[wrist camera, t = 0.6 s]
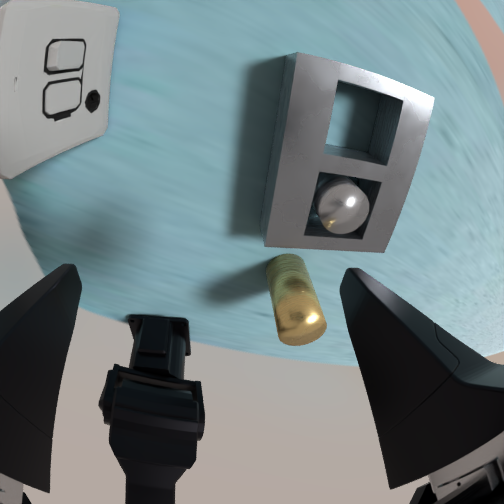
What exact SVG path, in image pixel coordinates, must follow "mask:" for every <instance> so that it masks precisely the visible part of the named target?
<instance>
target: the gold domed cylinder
mask: <svg viewBox="0 0 504 504" xmlns="http://www.w3.org/2000/svg"><path fill="white" fill-rule="evenodd" d="M266 276H267V281H268V286H269V291H270V296H271V301H272V306H273V311H274V317H275V322H276V327H277V332H278V337H279V339H280V341H281V342H283V343H284V344H287V345H291V346H300V345H305V344H308V343H311V342H313V341H315V340H317V339H318V338H320V337H321V336H322V335H323V334H324V332H325V330H326V327H327V324H326V321H325V318H324V315H323V312H322V309H321V307H320V304H319V301H318V298H317V295H316V293H315V290H314V287H313V284H312V282H311V279H310V276H309V274H308V271H307V268H306V265H305V263H304V261H303V259H302V258H301V257H299V256H297V255H294V254H283V255H279V256H277V257H275V258H274V259H272V260H271V261H270V262H269V264H268V265H267V268H266Z"/></svg>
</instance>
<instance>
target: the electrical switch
mask: <svg viewBox="0 0 504 504" xmlns="http://www.w3.org/2000/svg"><path fill="white" fill-rule="evenodd" d="M119 17H120V13H119V12H118V10H117V8H115V7H110V6H105V5H100V4H95V3H89V2H82V1H75V0H11V1H9V2H8V3H6V4H5V5H3V6H2V7H0V179H12V178H14V177H15V176H17V175H19V174H21V173H23V172H24V171H26V170H28V169H30V168H32V167H34V166H36V165H37V164H39V163H41V162H43V161H45V160H47V159H49V158H51V157H54V156H56V155H58V154H60V153H62V152H64V151H66V150H69V149H71V148H73V147H75V146H78V145H80V144H82V143H85V142H87V141H90V140H92V139H95V138H97V137H100V136H102V135H103V134H104V133H105V131H106V129H107V127H108V109H109V93H110V80H111V70H112V61H113V53H114V46H115V39H116V33H117V28H118V22H119Z"/></svg>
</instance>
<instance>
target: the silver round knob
mask: <svg viewBox="0 0 504 504" xmlns="http://www.w3.org/2000/svg"><path fill="white" fill-rule="evenodd" d="M311 205H312V206H313V208H314V210H315V211H316V213H317V215H318V217H319V218H320V220H321V222H322V223H323V225H324V227H325V228H326V229H327V230H329V231H330V232H332V233H336V234H345V233H349V232H352V231H354V230H355V229H357V228H358V227H359V226H360V225H361V224H362V223H363V222H364V221H365V219H366V217H367V215H368V212H369V201H368V198H367V196H366V195H365V194H364V193H363V192H362V191H361V189H360V188H359V187H358V186H357V185H356V184H355V183H354V182H353V181H352V180H351V179H350V178H349V177H348V176H346V175H340V174H333V173H326V172H319V174H318V179H317V183H316V187H315V191H314V196H313V200H312V204H311Z"/></svg>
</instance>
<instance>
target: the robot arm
mask: <svg viewBox="0 0 504 504" xmlns="http://www.w3.org/2000/svg"><path fill="white" fill-rule="evenodd" d="M81 291H82V283H81V280H80V277H79V274H78V271H77V268H76V266H75V265H74V264H62V265H61V266H60V267H58V268H57V269H55V270H54V271H52V272H51V273H50V274H48V275H47V276H45V277H44V278H43V279H41V280H40V281H39V282H37V283H36V284H34V285H33V286H32V287H31V288H29V289H28V290H27V291H25V292H24V293H23V294H21V295H20V296H19V297H17V298H16V299H15V300H14V301H12V302H11V303H10V304H8V305H7V306H6V307H5V308H4V309H2V310H1V311H0V504H31V502H30V500H29V499H28V497H27V496H26V494H25V493H24V492H23V484H26V485H28V486H31V487H33V488H36V489H38V490H41V491H44V492H47V493H50V468H51V451H52V438H53V429H54V421H55V414H56V407H57V401H58V395H59V390H60V384H61V380H62V375H63V370H64V366H65V361H66V357H67V352H68V349H69V345H70V341H71V337H72V334H73V330H74V325H75V320H76V315H77V310H78V305H79V300H80V296H81ZM340 296H341V300H342V305H343V309H344V314H345V319H346V324H347V328H348V332H349V335H350V338H351V342H352V345H353V348H354V351H355V354H356V357H357V361H358V364H359V367H360V371H361V374H362V377H363V381H364V384H365V388H366V391H367V395H368V399H369V402H370V406H371V410H372V414H373V417H374V421H375V425H376V429H377V433H378V437H379V442H380V447H381V451H382V455H383V460H384V464H385V469H386V473H387V479H388V484H389V488H390V489H394V488H397V487H400V486H402V485H405V484H407V483H410V482H412V481H415V480H417V479H420V478H422V477H424V476H427V475H428V477H429V480H430V482H428V483H426V484H424V485H422V486H421V487H419V488H417V489H416V491H415V493H414V495H413V497H412V500H411V501H410V504H504V365H500V364H496V363H493V362H491V361H489V360H487V359H486V358H484V357H483V356H481V355H480V354H479V353H477V352H476V351H474V350H473V349H471V348H470V347H468V346H467V345H465V344H464V343H462V342H461V341H459V340H458V339H457V338H455V337H454V336H452V335H451V334H450V333H448V332H447V331H445V330H444V329H443V328H441V327H440V326H439V325H438V324H436V323H434V322H433V321H432V320H431V319H430V318H428V317H427V316H425V315H424V314H423V313H421V312H420V311H419V310H417V309H416V308H415V307H413V306H412V305H411V304H409V303H408V302H406V301H405V300H404V299H402V298H401V297H399V296H398V295H397V294H395V293H394V292H392V291H391V290H390V289H388V288H387V287H385V286H384V285H383V284H381V283H380V282H378V281H377V280H375V279H374V278H373V277H371V276H370V275H368V274H367V273H365V272H364V271H363V270H361V269H359V268H348V269H347V270H346V272H345V274H344V277H343V280H342V283H341V285H340ZM128 322H129V326H130V329H131V332H132V335H133V339H134V344H133V349H132V354H131V359H130V364H129V368H126V367H122V366H119V365H118V364H114V367H113V370H109V371H108V374H107V378H106V383H105V386H104V389H103V391H102V394H101V397H100V400H99V407H100V409H101V410H102V412H103V416H104V424H107V425H110V431H109V444H110V446H111V448H112V451H113V453H114V455H115V457H116V458H117V460H118V462H119V464H120V466H121V468H122V469H123V471H124V473H125V475H126V500H125V501H126V502H125V503H126V504H175V483H176V482H177V480H178V479H179V478H180V477H181V476H182V474H183V473H184V472H185V471H186V469H190V468H191V467H192V465H193V464H194V462H195V461H196V451H197V441H200V440H201V438H202V436H203V433H204V426H205V411H204V404H203V396H202V388H201V382H200V381H190V380H184V365H185V356H189V355H191V347H190V333H189V321H188V320H187V319H181V318H164V317H149V316H136V315H130V316H129V318H128Z"/></svg>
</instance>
